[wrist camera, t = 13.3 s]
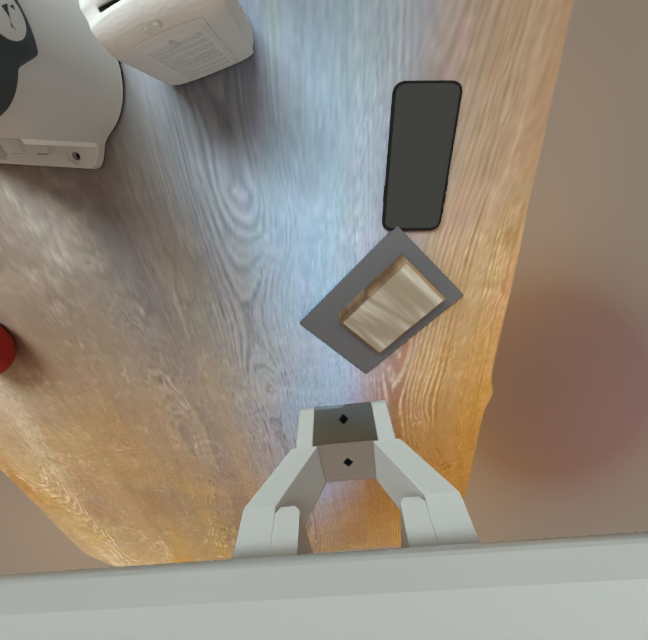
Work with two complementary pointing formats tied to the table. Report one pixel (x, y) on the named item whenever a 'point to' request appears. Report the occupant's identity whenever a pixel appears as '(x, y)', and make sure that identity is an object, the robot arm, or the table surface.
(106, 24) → the photo printer
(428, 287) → the wooden block
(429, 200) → the smartphone
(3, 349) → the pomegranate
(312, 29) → the table surface
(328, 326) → the mat
